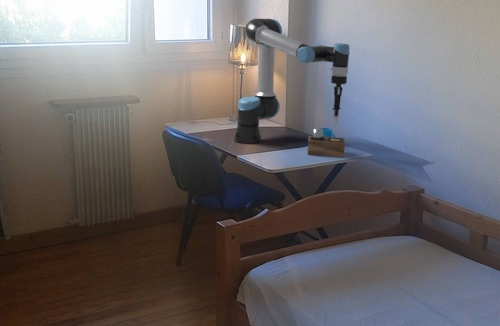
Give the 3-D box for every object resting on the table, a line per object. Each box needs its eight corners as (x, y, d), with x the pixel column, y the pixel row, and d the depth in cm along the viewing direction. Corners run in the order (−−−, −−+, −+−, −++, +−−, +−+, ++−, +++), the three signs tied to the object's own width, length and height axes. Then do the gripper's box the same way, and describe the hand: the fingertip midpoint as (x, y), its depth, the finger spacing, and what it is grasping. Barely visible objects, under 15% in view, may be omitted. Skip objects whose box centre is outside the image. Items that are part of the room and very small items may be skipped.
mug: (313, 143, 311) (314, 128, 309) (323, 141, 317) (324, 127, 314) (330, 147, 303) (331, 132, 300) (339, 145, 308) (341, 131, 306)
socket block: (307, 148, 298) (308, 135, 296) (342, 151, 296) (343, 137, 294) (307, 154, 286) (308, 140, 285) (343, 156, 285) (344, 142, 283)
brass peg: (329, 151, 294) (330, 138, 292) (338, 151, 293) (340, 138, 291) (329, 153, 289) (330, 140, 287) (339, 154, 288) (340, 141, 286)
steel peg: (312, 140, 293) (313, 128, 291) (322, 141, 293) (323, 128, 291) (312, 143, 288) (313, 130, 286) (322, 143, 288) (323, 130, 286)
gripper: (331, 73, 287) (327, 119, 293) (332, 76, 275) (328, 124, 281) (346, 74, 287) (342, 120, 293) (347, 77, 274) (343, 125, 280)
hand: (335, 122), depth 287 cm, fingers closed
